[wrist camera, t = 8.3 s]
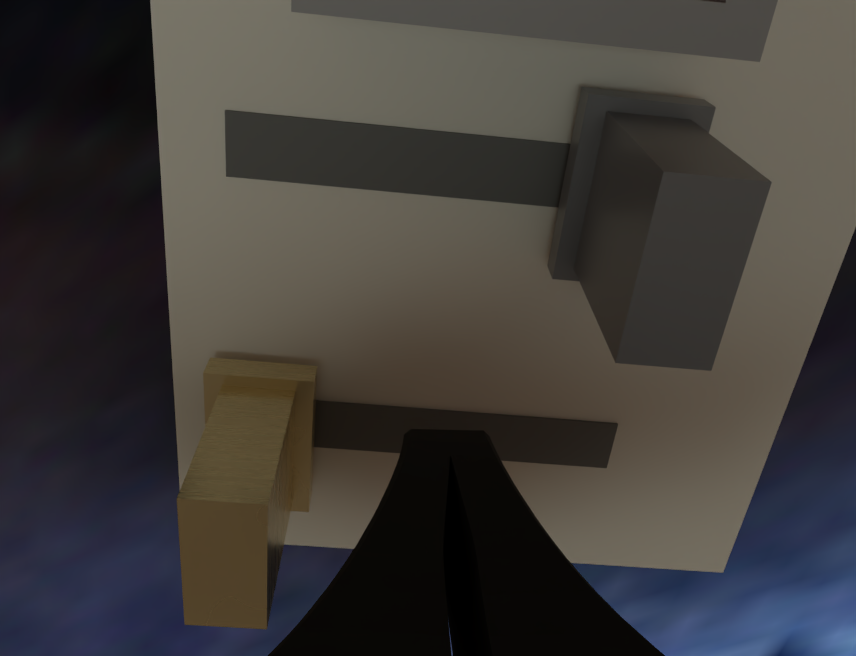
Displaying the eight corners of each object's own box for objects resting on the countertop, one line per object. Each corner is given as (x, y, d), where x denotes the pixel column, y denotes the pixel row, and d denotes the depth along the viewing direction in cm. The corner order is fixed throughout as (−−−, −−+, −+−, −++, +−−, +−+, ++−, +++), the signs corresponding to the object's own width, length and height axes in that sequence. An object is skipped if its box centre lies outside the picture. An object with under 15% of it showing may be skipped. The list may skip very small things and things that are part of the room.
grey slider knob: (580, 87, 11) (641, 150, 8) (704, 99, 11) (805, 167, 8) (547, 265, 12) (587, 374, 10) (657, 275, 13) (730, 386, 10)
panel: (154, -568, 9) (25, -802, 6) (1034, -433, 10) (1311, -585, 7) (201, 487, 17) (153, 619, 14) (699, 521, 18) (760, 653, 14)
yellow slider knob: (210, 357, 13) (152, 484, 10) (317, 366, 13) (291, 494, 10) (214, 487, 15) (164, 632, 12) (311, 493, 15) (287, 639, 12)
